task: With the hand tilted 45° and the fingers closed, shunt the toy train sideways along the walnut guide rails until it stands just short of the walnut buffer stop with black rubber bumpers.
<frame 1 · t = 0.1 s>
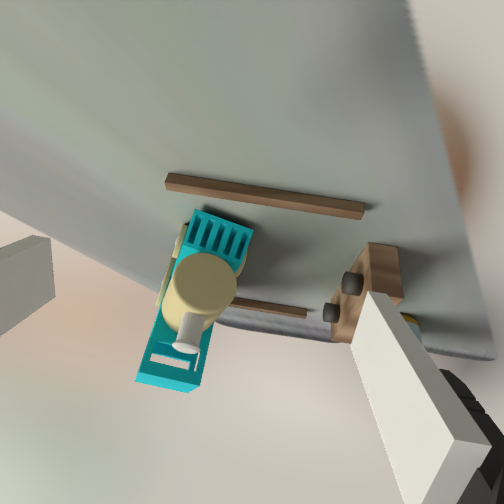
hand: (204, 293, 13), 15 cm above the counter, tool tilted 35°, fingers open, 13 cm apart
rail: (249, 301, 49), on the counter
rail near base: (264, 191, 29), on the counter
toy train: (207, 249, 39), on the counter
buffer stop: (359, 277, 39), on the counter
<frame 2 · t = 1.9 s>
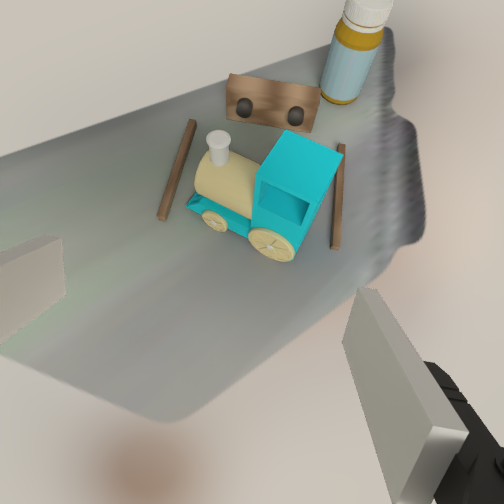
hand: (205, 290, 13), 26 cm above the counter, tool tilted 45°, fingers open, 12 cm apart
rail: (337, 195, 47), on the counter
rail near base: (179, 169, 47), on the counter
toy train: (247, 219, 45), on the counter
bottle: (337, 93, 56), on the counter
buffer stop: (269, 119, 52), on the counter
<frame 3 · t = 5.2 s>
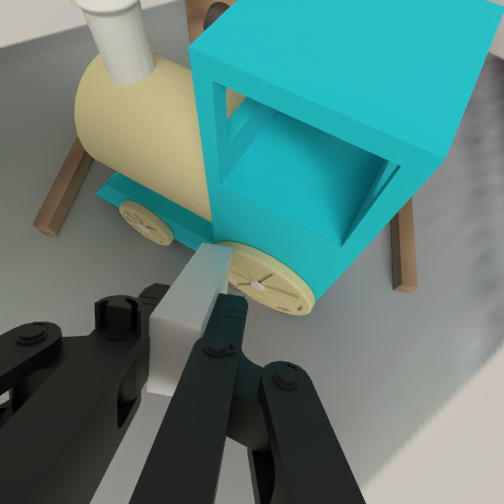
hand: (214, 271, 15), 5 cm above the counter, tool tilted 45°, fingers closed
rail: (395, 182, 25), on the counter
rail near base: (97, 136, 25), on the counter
toy train: (219, 222, 23), on the counter, touching gripper
buffer stop: (266, 54, 30), on the counter
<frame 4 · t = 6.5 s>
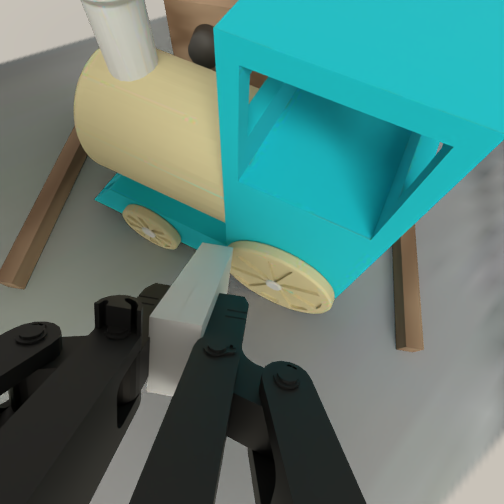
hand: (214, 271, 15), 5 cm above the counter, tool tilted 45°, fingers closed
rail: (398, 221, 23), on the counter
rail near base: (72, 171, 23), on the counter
toy train: (225, 222, 22), on the counter, touching gripper
buffer stop: (258, 76, 28), on the counter
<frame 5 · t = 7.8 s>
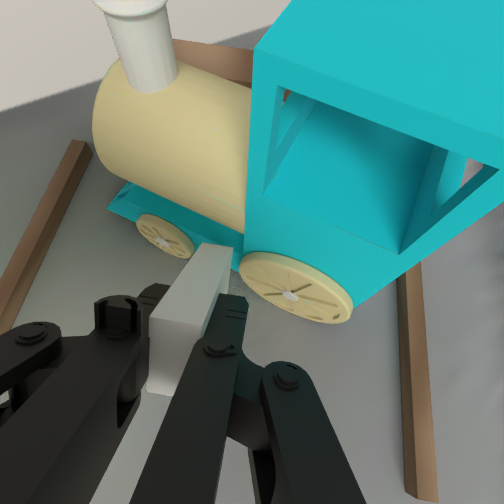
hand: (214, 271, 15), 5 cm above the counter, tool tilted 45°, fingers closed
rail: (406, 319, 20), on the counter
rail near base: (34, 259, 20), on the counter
toy train: (238, 230, 22), on the counter, touching gripper
buffer stop: (249, 136, 25), on the counter
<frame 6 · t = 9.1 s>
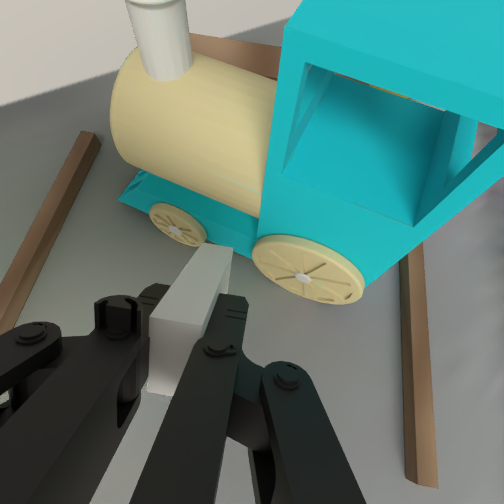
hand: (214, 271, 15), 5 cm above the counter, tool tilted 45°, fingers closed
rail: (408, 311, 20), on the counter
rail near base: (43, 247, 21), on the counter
toy train: (246, 218, 23), on the counter
buffer stop: (255, 130, 26), on the counter
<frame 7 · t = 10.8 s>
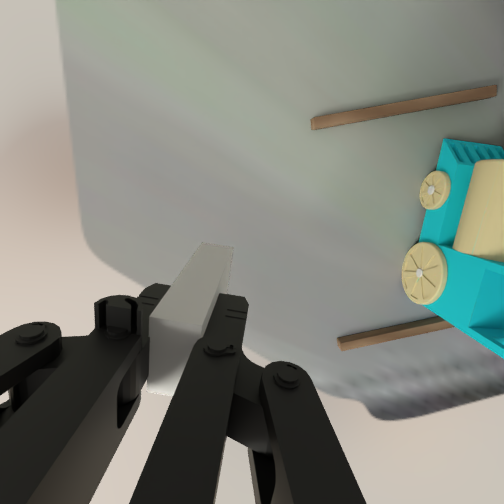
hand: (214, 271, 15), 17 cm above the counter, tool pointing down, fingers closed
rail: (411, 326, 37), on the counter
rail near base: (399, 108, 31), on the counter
toy train: (444, 222, 35), on the counter
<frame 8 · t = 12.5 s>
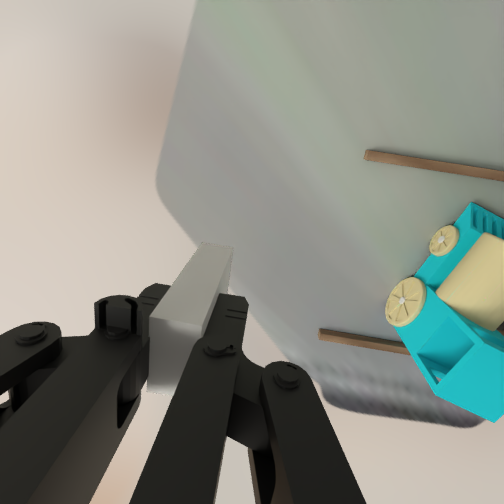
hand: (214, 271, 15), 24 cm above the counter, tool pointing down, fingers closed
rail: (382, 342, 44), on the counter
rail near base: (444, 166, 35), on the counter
toy train: (442, 269, 40), on the counter
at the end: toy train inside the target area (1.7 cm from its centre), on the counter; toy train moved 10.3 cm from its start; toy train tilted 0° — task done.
